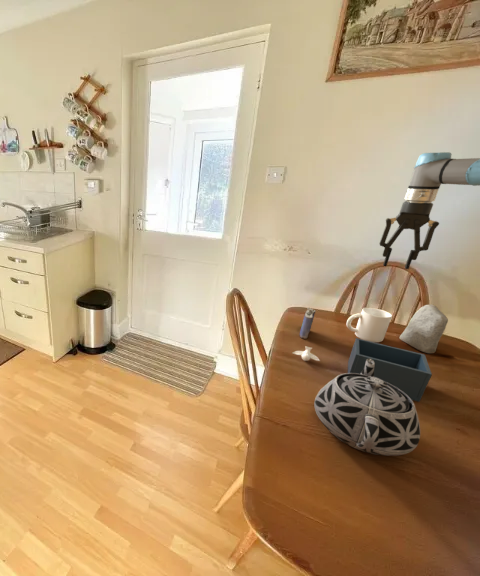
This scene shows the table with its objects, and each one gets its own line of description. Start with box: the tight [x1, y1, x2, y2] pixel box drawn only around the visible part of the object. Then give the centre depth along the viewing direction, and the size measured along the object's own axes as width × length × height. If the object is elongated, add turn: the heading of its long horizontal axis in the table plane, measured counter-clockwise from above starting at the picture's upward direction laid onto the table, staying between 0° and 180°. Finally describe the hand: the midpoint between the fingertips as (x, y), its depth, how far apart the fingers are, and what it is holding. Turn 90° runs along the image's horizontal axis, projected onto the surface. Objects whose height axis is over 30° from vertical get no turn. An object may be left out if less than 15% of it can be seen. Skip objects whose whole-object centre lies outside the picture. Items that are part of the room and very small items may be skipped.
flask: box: [299, 307, 316, 340], centre depth 117 cm, size 9×3×11 cm, turn 140°
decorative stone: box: [398, 303, 449, 354], centre depth 107 cm, size 11×6×15 cm, turn 171°
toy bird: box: [292, 345, 321, 362], centre depth 103 cm, size 8×5×5 cm, turn 51°
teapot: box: [313, 359, 421, 457], centre depth 73 cm, size 19×31×15 cm, turn 142°
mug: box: [346, 307, 393, 343], centre depth 115 cm, size 12×8×10 cm
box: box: [347, 337, 433, 403], centre depth 91 cm, size 16×12×9 cm
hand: (395, 266), depth 115 cm, fingers open, 5 cm apart
